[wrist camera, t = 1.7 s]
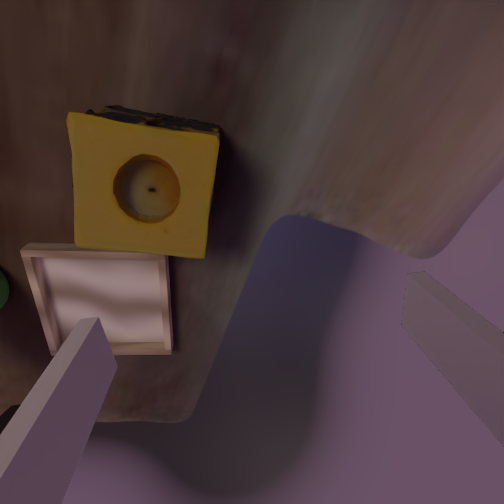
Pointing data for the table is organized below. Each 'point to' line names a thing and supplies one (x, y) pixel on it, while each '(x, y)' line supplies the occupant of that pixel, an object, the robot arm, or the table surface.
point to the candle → (142, 181)
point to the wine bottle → (3, 290)
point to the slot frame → (102, 295)
